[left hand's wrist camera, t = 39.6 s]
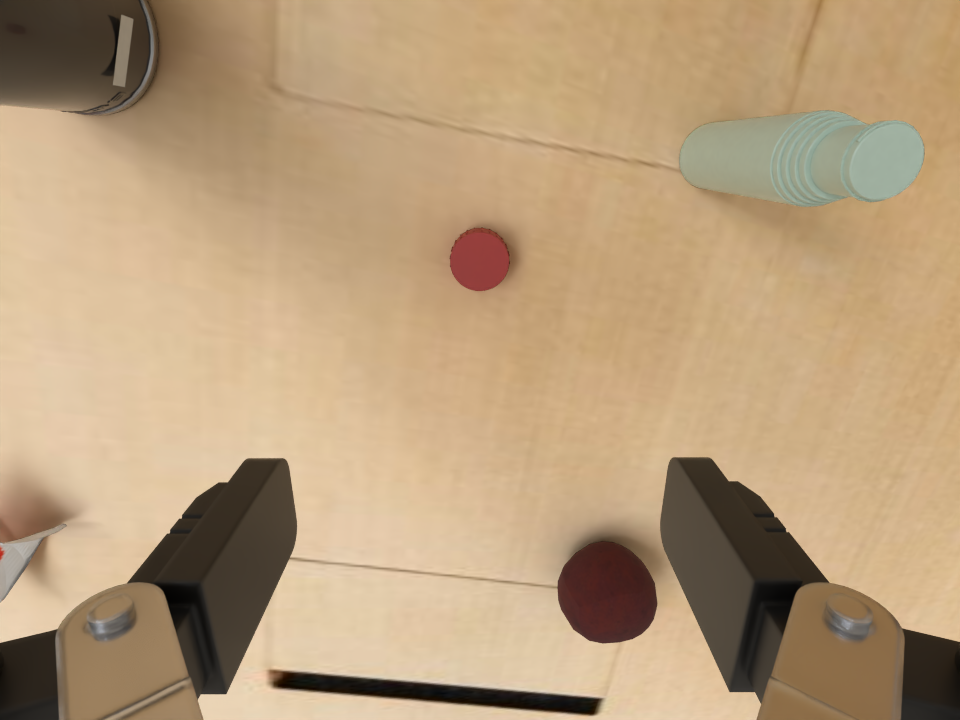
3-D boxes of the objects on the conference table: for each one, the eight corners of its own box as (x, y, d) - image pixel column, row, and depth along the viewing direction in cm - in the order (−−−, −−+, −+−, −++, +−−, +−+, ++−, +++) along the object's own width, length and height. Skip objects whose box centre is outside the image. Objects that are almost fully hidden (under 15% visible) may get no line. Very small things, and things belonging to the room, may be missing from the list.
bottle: (754, 151, 36) (967, 154, 20) (708, 201, 37) (874, 240, 21) (712, 108, 35) (901, 75, 19) (666, 160, 36) (808, 170, 20)
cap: (507, 225, 37) (508, 230, 35) (509, 283, 39) (510, 290, 37) (449, 228, 37) (447, 233, 36) (453, 286, 39) (451, 293, 37)
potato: (650, 581, 48) (677, 650, 42) (564, 603, 49) (578, 674, 42) (631, 515, 46) (656, 577, 39) (541, 539, 46) (551, 604, 40)
